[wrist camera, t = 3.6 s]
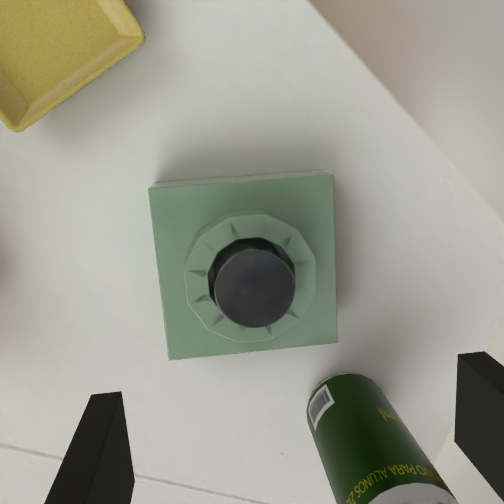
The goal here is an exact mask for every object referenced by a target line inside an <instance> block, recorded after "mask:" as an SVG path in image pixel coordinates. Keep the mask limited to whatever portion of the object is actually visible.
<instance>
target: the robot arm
mask: <svg viewBox="0 0 504 504" xmlns="http://www.w3.org/2000/svg"><path fill="white" fill-rule="evenodd" d="M454 441H455V443H456V444H457V445H458V446H459V448H460V449H461V450H462V451H463V452H464V454H465V455H466V456H467V457H468V459H469V460H470V461H471V462H472V463H473V465H474V466H475V467H476V468H477V470H478V471H479V472H480V473H481V474H482V476H483V477H484V478H485V479H486V481H487V482H488V483H489V484H490V486H491V487H492V488H493V489H494V491H495V492H496V493H497V494H498V495H499V497H500V498H501V499H502V500H503V502H504V366H503V365H501V364H500V363H499V362H497V361H496V360H495V359H493V358H492V357H491V356H490V355H488V354H487V353H486V352H485V351H484V352H474V353H465V354H458V364H457V389H456V414H455V440H454ZM134 483H135V479H134V472H133V466H132V459H131V452H130V446H129V439H128V433H127V426H126V419H125V413H124V406H123V399H122V393H121V391H120V392H111V393H102V394H93V395H91V397H90V399H89V402H88V404H87V406H86V408H85V411H84V413H83V415H82V418H81V420H80V422H79V425H78V427H77V429H76V432H75V434H74V436H73V439H72V441H71V443H70V445H69V448H68V450H67V452H66V455H65V457H64V459H63V462H62V464H61V466H60V469H59V471H58V473H57V476H56V478H55V480H54V482H53V485H52V487H51V489H50V492H49V494H48V496H47V499H46V501H45V503H44V504H130V503H131V498H132V493H133V488H134Z"/></svg>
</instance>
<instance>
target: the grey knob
mask: <svg viewBox="0 0 504 504" xmlns="http://www.w3.org/2000/svg"><path fill="white" fill-rule="evenodd" d="M213 281H214V296H215V300H216V304H217V306H218V308H219V310H220V311H221V313H222V314H223V315H224V316H225V317H226V318H227V319H228V320H229V321H231V322H232V323H234V324H236V325H239V326H242V327H246V328H261V327H265V326H268V325H271V324H273V323H275V322H276V321H278V320H279V319H280V318H282V317H283V316H284V315H285V314H286V312H287V311H288V310H289V308H290V306H291V304H292V302H293V299H294V295H295V281H294V277H293V274H292V272H291V270H290V268H289V267H288V265H287V263H286V262H285V260H284V259H283V257H282V256H281V255H280V254H279V253H278V252H277V251H276V250H275V249H274V248H272V247H270V246H268V245H266V244H263V243H259V242H246V243H241V244H238V245H236V246H234V247H232V248H230V249H229V250H228V251H226V252H225V253H224V254H223V255H222V257H221V258H220V259H219V261H218V263H217V265H216V267H215V271H214V277H213Z"/></svg>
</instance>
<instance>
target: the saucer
mask: <svg viewBox="0 0 504 504" xmlns="http://www.w3.org/2000/svg"><path fill="white" fill-rule="evenodd" d="M144 42H145V33H144V31H143V29H142V27H141V26H140V24H139V23H138V21H137V20H136V18H135V17H134V15H133V14H132V12H131V11H130V9H129V8H128V6H127V5H126V3H125V2H124V1H123V0H0V118H1V119H2V121H3V122H4V123H5V124H6V126H7V127H8V128H9V129H10V130H12V131H14V132H21V131H23V130H25V129H26V128H28V127H29V126H30V125H32V124H33V123H35V122H36V121H37V120H39V119H40V118H42V117H43V116H44V115H45V114H47V113H48V112H50V111H51V110H52V109H54V108H55V107H57V106H58V105H59V104H61V103H62V102H63V101H65V100H66V99H67V98H69V97H70V96H72V95H73V94H74V93H76V92H77V91H79V90H80V89H82V88H83V87H84V86H86V85H87V84H89V83H90V82H91V81H93V80H94V79H95V78H97V77H98V76H100V75H101V74H102V73H104V72H105V71H106V70H108V69H109V68H111V67H112V66H114V65H115V64H116V63H118V62H119V61H120V60H122V59H123V58H125V57H126V56H128V55H129V54H130V53H132V52H133V51H135V50H136V49H137V48H139V47H140V46H141V45H143V43H144Z"/></svg>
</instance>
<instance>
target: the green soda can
mask: <svg viewBox="0 0 504 504" xmlns="http://www.w3.org/2000/svg"><path fill="white" fill-rule="evenodd" d="M306 411H307V421H308V424H309V427H310V430H311V433H312V435H313V438H314V441H315V444H316V447H317V449H318V452H319V455H320V458H321V461H322V463H323V466H324V469H325V472H326V475H327V477H328V480H329V483H330V486H331V489H332V491H333V494H334V497H335V500H336V503H337V504H458V502H457V501H456V499H455V497H454V496H453V494H452V493H451V491H450V490H449V488H448V487H447V486H446V484H445V483H444V481H443V480H442V478H441V477H440V476H439V474H438V472H437V471H436V470H435V468H434V467H433V465H432V464H431V462H430V461H429V459H428V458H427V456H426V455H425V454H424V452H423V451H422V449H421V448H420V446H419V445H418V443H417V442H416V440H415V439H414V438H413V436H412V435H411V433H410V432H409V430H408V429H407V427H406V426H405V424H404V423H403V421H402V420H401V419H400V417H399V416H398V414H397V413H396V411H395V410H394V408H393V407H392V405H391V404H390V403H389V401H388V400H387V398H386V397H385V395H384V394H383V392H382V391H381V389H380V388H379V387H378V386H377V385H376V384H375V383H374V382H373V381H372V380H371V379H368V378H366V377H364V376H362V375H359V374H355V373H347V372H344V373H338V374H334V375H332V376H329V377H327V378H325V379H324V380H323V381H322V382H320V383H319V384H318V385H317V386H316V388H315V389H314V391H313V393H312V394H311V396H310V399H309V402H308V406H307V410H306Z"/></svg>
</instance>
